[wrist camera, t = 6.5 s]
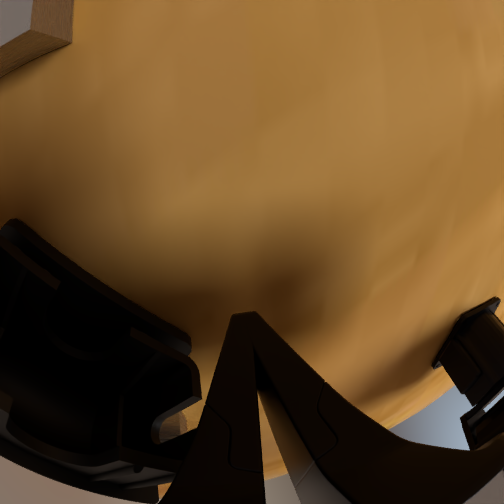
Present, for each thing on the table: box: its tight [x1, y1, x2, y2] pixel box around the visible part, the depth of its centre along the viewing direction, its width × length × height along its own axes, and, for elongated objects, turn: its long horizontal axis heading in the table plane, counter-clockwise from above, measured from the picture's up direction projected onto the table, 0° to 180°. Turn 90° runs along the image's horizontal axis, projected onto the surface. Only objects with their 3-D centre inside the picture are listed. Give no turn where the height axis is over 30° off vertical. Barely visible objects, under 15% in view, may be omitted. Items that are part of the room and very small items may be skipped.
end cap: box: [0, 219, 202, 504], centre depth 7 cm, size 10×7×7 cm
